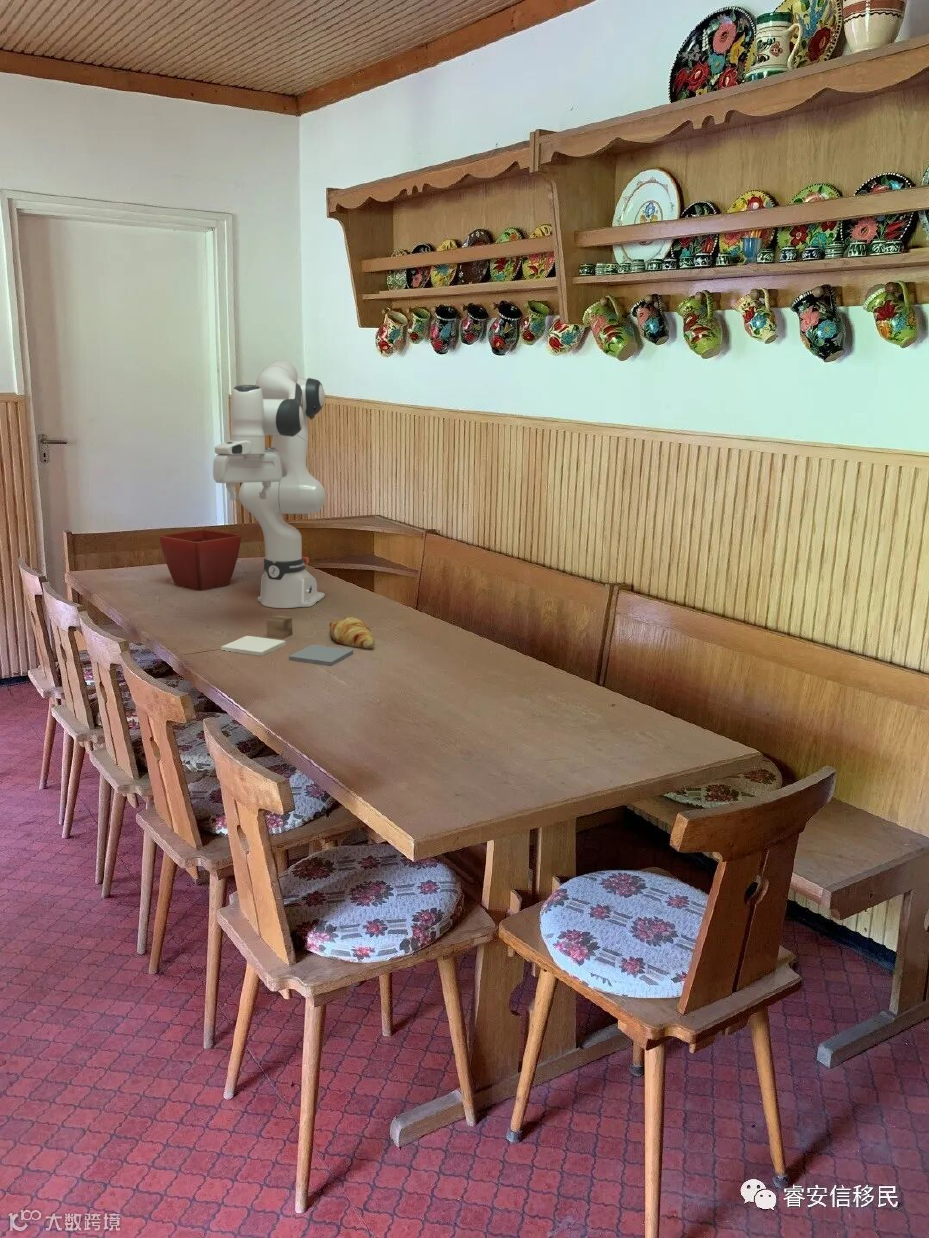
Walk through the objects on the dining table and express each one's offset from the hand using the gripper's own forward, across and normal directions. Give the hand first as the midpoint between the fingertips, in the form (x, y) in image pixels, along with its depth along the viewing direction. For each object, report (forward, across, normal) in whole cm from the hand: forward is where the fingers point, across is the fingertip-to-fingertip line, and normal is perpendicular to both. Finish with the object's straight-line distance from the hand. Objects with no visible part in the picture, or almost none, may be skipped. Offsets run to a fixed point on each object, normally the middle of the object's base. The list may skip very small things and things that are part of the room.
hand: (249, 499), depth 271 cm
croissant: (+38, -14, +24) cm, 47 cm away
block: (+37, -4, +7) cm, 38 cm away
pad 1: (+38, +8, +12) cm, 40 cm away
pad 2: (+38, +1, +30) cm, 49 cm away
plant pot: (+33, -24, -60) cm, 73 cm away
